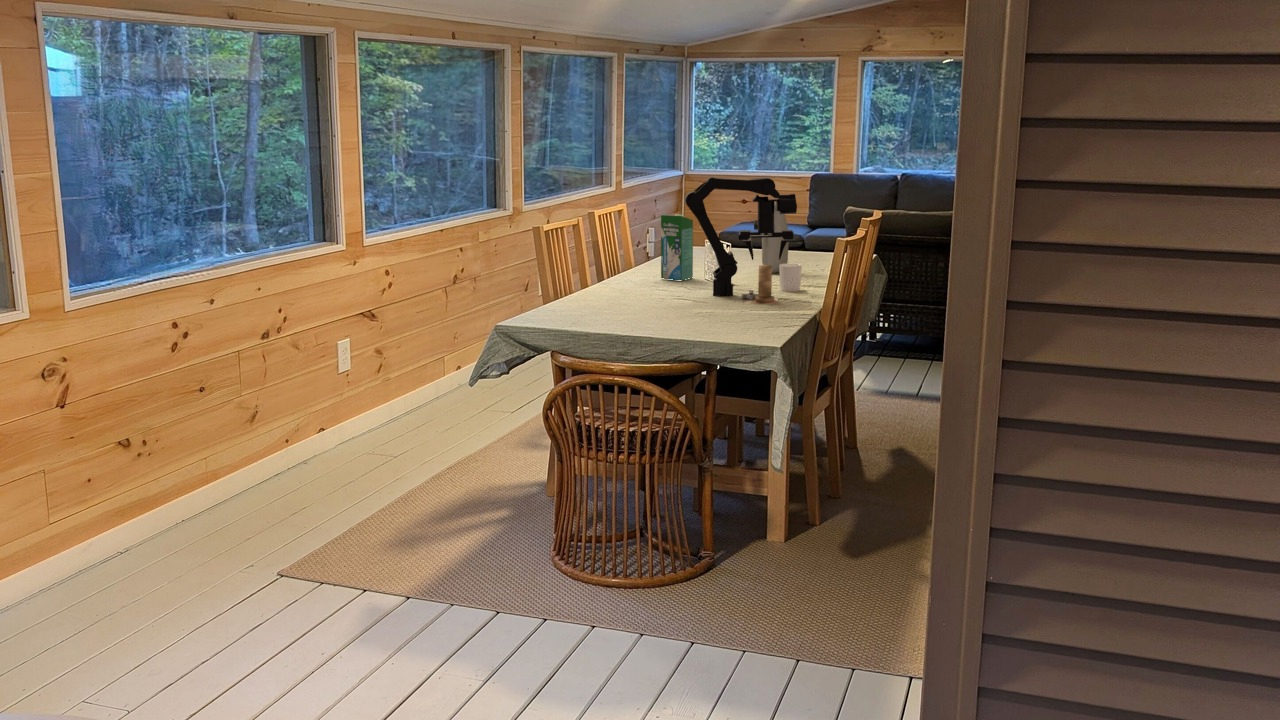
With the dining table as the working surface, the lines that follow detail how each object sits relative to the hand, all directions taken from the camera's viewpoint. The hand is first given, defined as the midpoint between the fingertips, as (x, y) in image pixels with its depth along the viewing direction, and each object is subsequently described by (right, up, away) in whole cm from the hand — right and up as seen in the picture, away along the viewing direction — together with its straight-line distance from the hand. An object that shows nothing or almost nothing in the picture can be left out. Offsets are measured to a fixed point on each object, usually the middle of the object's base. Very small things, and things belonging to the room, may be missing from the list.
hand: (766, 259), depth 390 cm
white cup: (+10, -11, +12) cm, 19 cm away
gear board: (-3, -15, -9) cm, 18 cm away
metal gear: (-6, -14, -6) cm, 16 cm away
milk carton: (-29, -4, +45) cm, 54 cm away
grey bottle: (+10, 0, +59) cm, 60 cm away
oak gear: (-2, -15, -12) cm, 19 cm away
